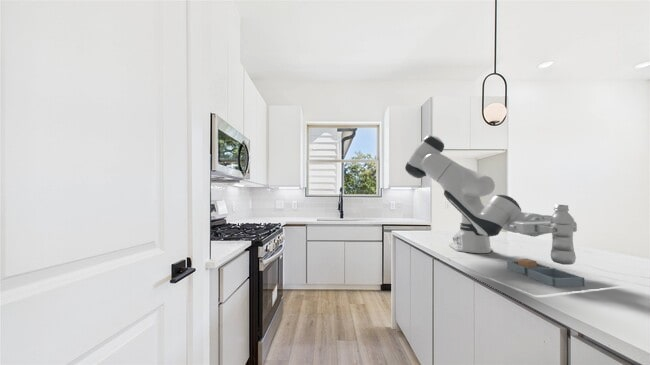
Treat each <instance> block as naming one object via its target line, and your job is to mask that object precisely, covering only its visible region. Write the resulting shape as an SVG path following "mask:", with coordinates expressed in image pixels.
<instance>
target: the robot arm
mask: <svg viewBox="0 0 650 365" xmlns="http://www.w3.org/2000/svg"><path fill="white" fill-rule="evenodd" d="M444 148H445V143H444V142H443V141H442V139H441V138H439V137H438V136H436V135H426V136H425V137H424V138H423V139H422V141H421V142H420V143H419V145H418V146H417V147H416V148H415V150H414V152H412V155H411V156H410V158H409V159H408V161H407V162H406V164H405V166H404V167H405V168H404V169H405V171H406V172H407V174H408V175H409V176H411V177H412V178H416V179H422V178H424V177H427V175H428V176H429V177H430V178H431V179H432V180H433V181H435V182H436V183H437V184H439V185H440V186H441V188H442V189H443V191H444V192H443V195H444V197H445V198H446V200H447V201H448V202H449V203H450V204H451V205H452V206H453V207H454V208H455V209H456V210H457V211H458V212H459V213H460V214H461V222H460V223H459V229H460V230H458V231H457V232H456V233H455V234H454V235H453V236H452V241H453V242H452V243H448V246H449V247H450V248H452V249H453V250H455V251H457V252H464V253H471V254H489V253H491V251H492V252H493V251H494V250H493V247H491V240H490V237H494V236H498V235H499V234H500V232H501V231H502V230H504V231H507V232H510V233H514V234H520V235H525V236H528V237H532V238H535V237H539V236H542V235H546V234H552V233H555V232H556V228H555V227H551V225H550V218H551V217H552V215H546V214H545V215H543V214H539V213H534V212H533V213H531V212H523V211H522V208H521V206H520V204H519V203H518V202H517V200H515V199H514V198H513V197H510V196H508V195H506V194H496V195H493V196H492V197H491V198H490V199H489V201H488V202H487V203H486V205H485V206H484V204H483V202H482V200H481V197H486V196H489V195H491V194H492V193H493V192H494V190H495V187H496V185H495V181H494V180H493V178H492V177H490V176H488V175H485V174H482V173H480V172H477V171H474V170H472V169H470V168H467V167H466V166H463V165H461V164H459V163H457V162H456V161H455V160H453V159H451V158H449V157H448V156H446V155H444V154H443V151H444ZM577 229H578V226H577V221H575V222H574V229H573V233H575V232H577Z"/></svg>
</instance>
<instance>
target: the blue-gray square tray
mask: <svg viewBox="0 0 650 365" xmlns="http://www.w3.org/2000/svg"><path fill="white" fill-rule="evenodd" d="M506 264H507V266H506V267H507V269H510V270H512V271H514V272H517V273H519V274H523V275H525V276H527V271H526V269H542V268H550V267H549V266H547V265H543V264H540V263H537V267H523V266H520V265H518V260H513V261H511V260H509V261H507V263H506Z"/></svg>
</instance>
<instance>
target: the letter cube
mask: <svg viewBox="0 0 650 365" xmlns="http://www.w3.org/2000/svg"><path fill="white" fill-rule="evenodd" d="M517 261H518V265H520V266H523V267H537V262H538V261H536V260H534V259H530V258H518V260H517Z"/></svg>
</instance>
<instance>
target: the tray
mask: <svg viewBox="0 0 650 365" xmlns="http://www.w3.org/2000/svg"><path fill="white" fill-rule="evenodd" d="M526 271H527V275H526V277H529V278H531V279H533V280H536V281H538V282H540V283H544V284H545V285H548V286H551V287H553V288H559V287H560V288H562V287H565V288H566V287H585V277H582V276H579V275H576V274H573V273H570V272H567V271H563V270H561V269H557V268H554V267H553V268H551V267H549V268H542V269H526Z"/></svg>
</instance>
